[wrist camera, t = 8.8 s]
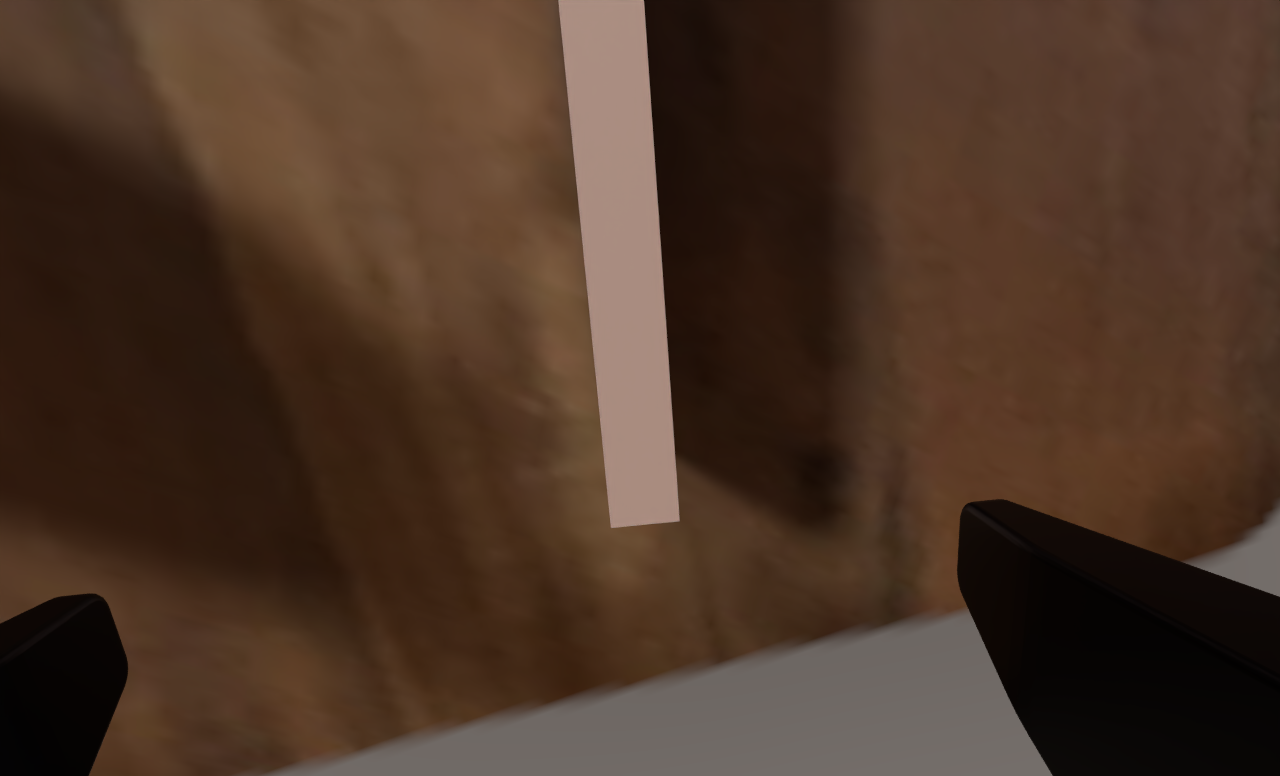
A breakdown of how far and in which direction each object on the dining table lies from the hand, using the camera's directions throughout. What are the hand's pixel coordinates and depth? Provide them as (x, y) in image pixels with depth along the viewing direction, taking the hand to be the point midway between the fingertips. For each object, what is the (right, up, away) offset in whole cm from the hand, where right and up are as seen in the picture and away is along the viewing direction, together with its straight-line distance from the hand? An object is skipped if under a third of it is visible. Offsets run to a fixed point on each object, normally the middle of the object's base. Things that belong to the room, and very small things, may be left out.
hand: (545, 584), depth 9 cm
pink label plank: (0, +12, +7) cm, 14 cm away
